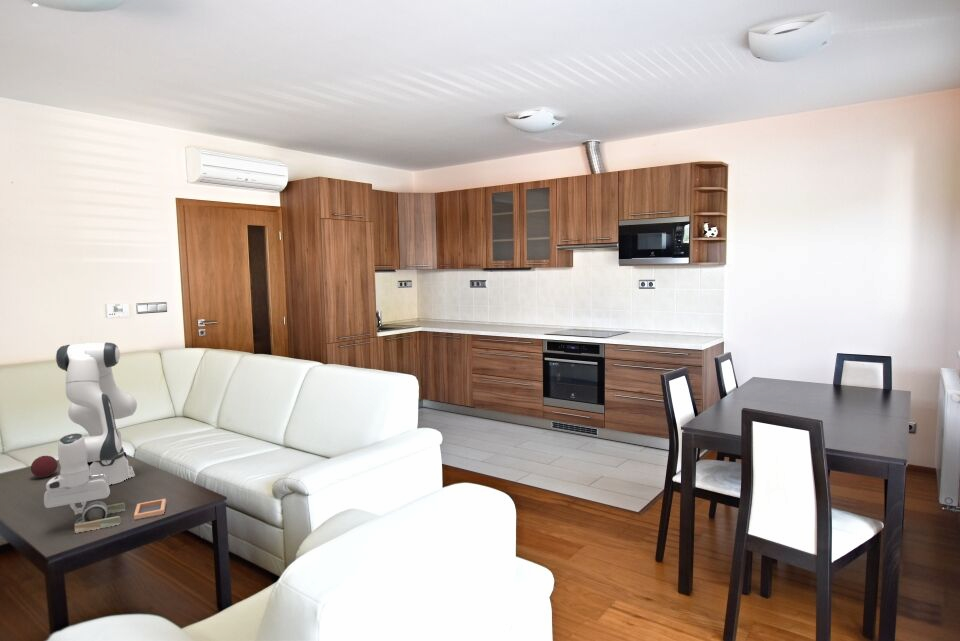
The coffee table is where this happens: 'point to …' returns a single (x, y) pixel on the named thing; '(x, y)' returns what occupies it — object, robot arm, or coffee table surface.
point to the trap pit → (150, 509)
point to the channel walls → (102, 520)
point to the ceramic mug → (93, 512)
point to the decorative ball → (44, 466)
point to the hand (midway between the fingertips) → (79, 513)
